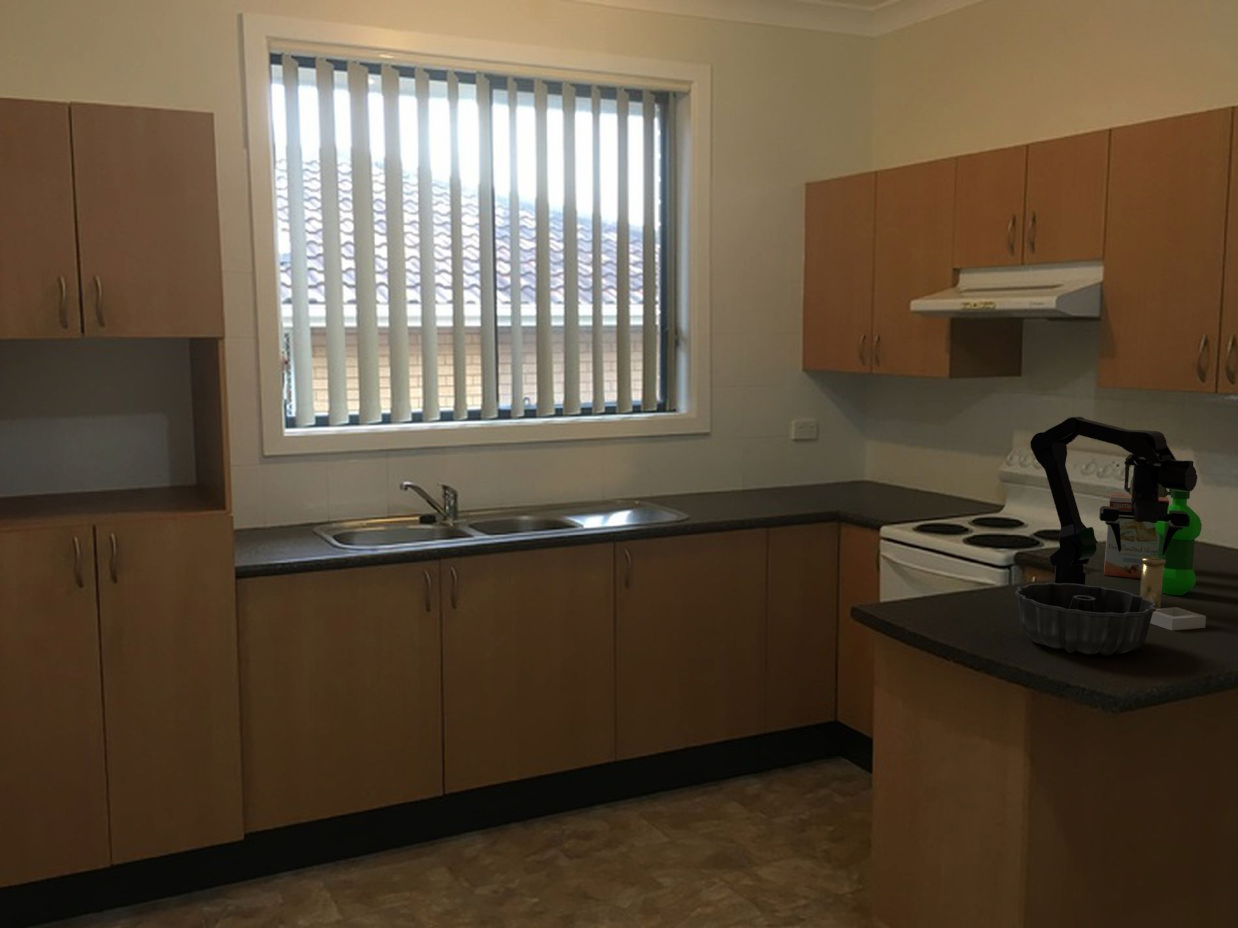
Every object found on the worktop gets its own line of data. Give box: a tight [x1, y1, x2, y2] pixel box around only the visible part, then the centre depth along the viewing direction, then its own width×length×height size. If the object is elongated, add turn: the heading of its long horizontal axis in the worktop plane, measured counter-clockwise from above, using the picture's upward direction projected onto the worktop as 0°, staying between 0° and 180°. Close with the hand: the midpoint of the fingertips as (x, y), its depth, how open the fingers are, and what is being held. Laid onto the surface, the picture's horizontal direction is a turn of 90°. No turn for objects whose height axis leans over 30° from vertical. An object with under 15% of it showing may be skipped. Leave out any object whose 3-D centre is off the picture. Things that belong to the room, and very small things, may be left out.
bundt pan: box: [1014, 582, 1156, 657], centre depth 238 cm, size 26×26×10 cm
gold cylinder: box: [1139, 556, 1166, 609], centre depth 262 cm, size 5×5×13 cm
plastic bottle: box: [1155, 489, 1203, 596], centre depth 286 cm, size 10×10×25 cm
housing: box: [1150, 606, 1207, 631], centre depth 256 cm, size 8×9×2 cm
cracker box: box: [1103, 493, 1170, 580], centre depth 304 cm, size 14×6×21 cm, turn 68°
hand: (1141, 553), depth 273 cm, fingers open, 9 cm apart
